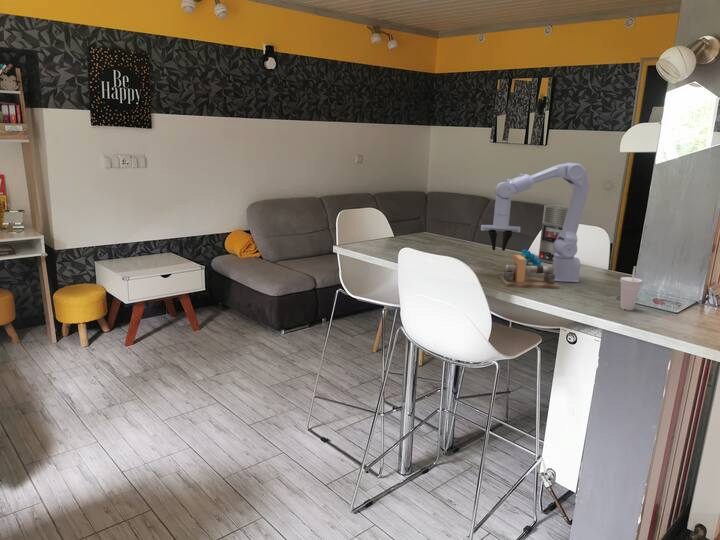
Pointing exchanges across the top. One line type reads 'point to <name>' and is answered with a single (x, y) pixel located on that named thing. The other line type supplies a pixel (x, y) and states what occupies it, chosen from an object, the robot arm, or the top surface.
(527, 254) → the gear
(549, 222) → the grey boxy piece
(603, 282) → the top surface
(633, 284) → the smoothie
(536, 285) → the pipe rig
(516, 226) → the robot arm
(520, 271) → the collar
